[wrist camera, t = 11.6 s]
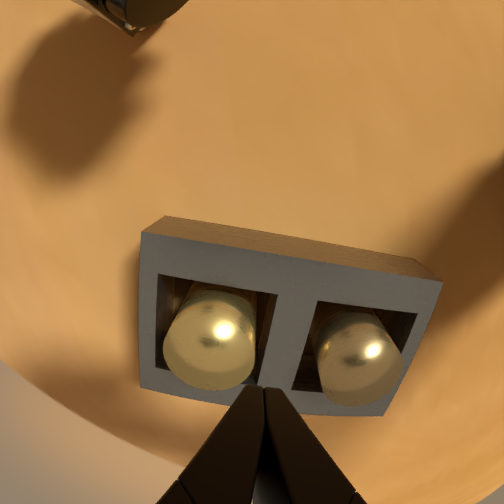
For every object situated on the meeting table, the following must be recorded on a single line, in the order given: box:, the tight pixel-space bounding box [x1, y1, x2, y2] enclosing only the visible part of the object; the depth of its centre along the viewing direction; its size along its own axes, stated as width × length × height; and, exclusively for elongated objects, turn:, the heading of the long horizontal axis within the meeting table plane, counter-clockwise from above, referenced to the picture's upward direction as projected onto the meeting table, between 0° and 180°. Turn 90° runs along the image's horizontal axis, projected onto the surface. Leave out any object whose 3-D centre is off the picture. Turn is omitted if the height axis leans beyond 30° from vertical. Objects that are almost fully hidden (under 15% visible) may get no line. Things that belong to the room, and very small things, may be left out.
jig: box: [138, 216, 444, 416], centre depth 18 cm, size 16×10×4 cm, turn 81°
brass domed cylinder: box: [163, 281, 257, 391], centre depth 17 cm, size 4×4×6 cm
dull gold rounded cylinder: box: [309, 301, 403, 407], centre depth 17 cm, size 4×4×6 cm
